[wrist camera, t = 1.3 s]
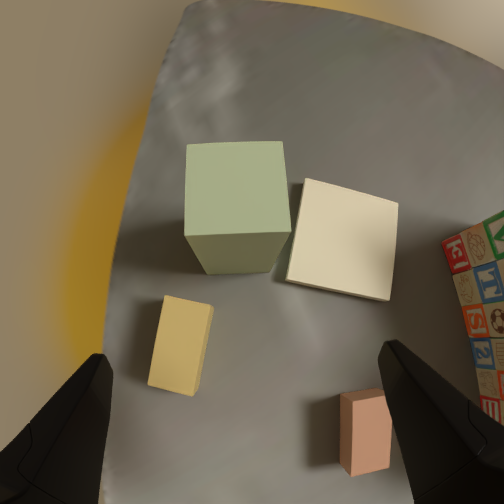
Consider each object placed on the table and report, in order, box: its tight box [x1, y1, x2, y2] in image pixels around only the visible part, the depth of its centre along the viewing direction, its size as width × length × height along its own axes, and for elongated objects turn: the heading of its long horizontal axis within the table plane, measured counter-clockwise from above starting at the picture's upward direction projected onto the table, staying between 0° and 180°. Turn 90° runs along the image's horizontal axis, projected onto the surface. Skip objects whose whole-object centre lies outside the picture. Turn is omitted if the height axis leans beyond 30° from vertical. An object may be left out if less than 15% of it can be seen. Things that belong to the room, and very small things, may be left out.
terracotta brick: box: [340, 388, 392, 477], centre depth 19 cm, size 6×3×3 cm, turn 3°
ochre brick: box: [148, 295, 214, 396], centre depth 20 cm, size 6×3×3 cm, turn 169°
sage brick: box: [184, 141, 291, 275], centre depth 19 cm, size 4×4×10 cm
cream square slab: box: [285, 178, 398, 302], centre depth 24 cm, size 8×8×2 cm
